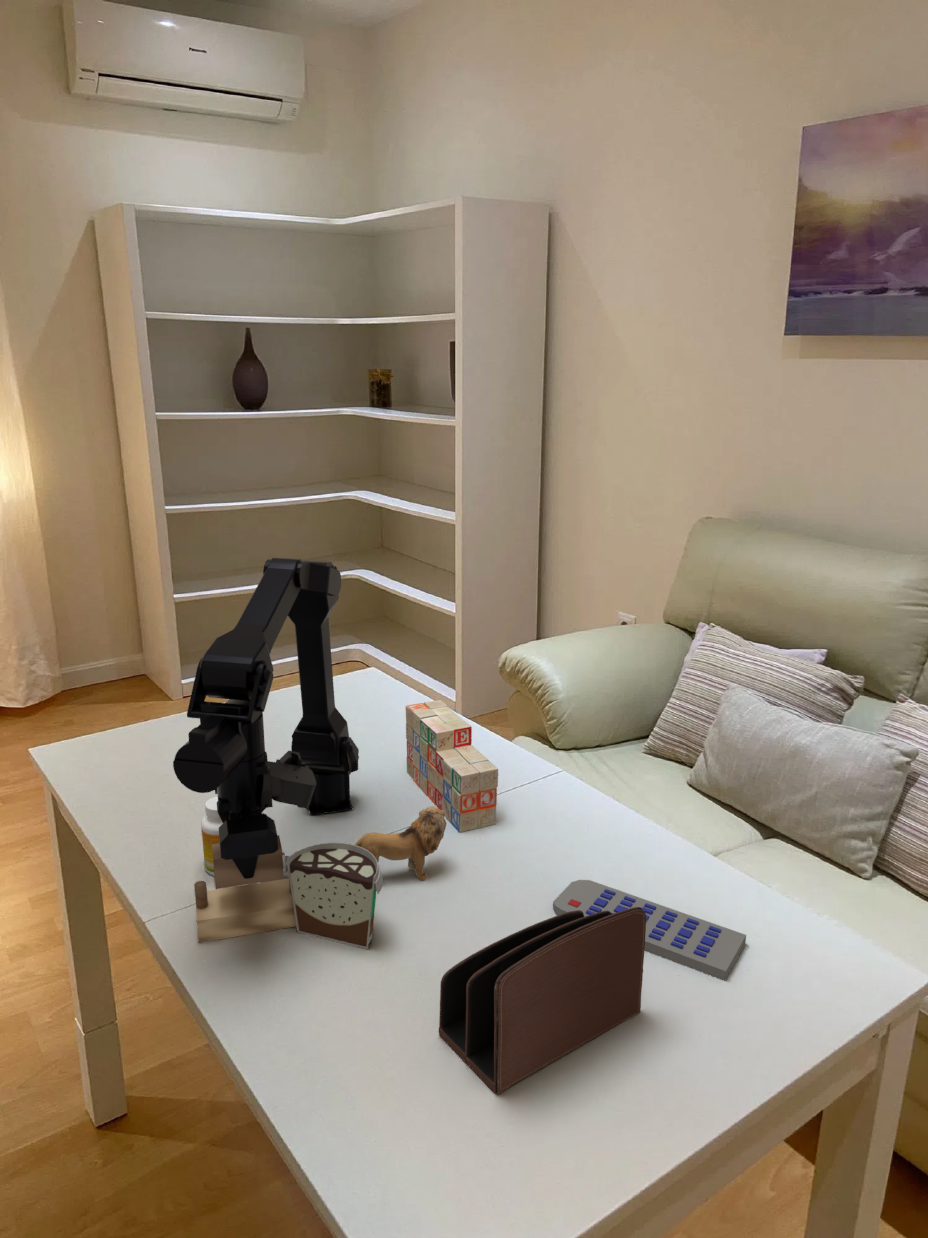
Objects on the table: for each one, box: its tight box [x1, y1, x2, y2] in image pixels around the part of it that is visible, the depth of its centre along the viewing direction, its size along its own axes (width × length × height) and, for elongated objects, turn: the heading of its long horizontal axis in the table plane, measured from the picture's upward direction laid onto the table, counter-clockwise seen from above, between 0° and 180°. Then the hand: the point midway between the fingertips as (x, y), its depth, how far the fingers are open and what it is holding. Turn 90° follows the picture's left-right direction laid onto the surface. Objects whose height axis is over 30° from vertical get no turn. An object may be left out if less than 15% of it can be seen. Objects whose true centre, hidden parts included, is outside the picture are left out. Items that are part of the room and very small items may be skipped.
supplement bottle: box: [201, 795, 223, 877], centre depth 123 cm, size 5×5×10 cm
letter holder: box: [438, 907, 646, 1095], centre depth 95 cm, size 10×20×14 cm, turn 126°
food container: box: [284, 842, 384, 950], centre depth 111 cm, size 12×6×10 cm, turn 71°
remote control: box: [552, 879, 747, 982], centre depth 112 cm, size 8×23×2 cm, turn 57°
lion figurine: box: [354, 806, 447, 881], centre depth 121 cm, size 15×5×9 cm, turn 113°
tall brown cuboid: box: [212, 834, 284, 890], centre depth 111 cm, size 4×8×4 cm, turn 107°
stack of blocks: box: [405, 699, 499, 833], centre depth 142 cm, size 21×6×12 cm, turn 25°
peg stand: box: [193, 878, 297, 944], centre depth 112 cm, size 13×6×6 cm, turn 107°
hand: (247, 869), depth 111 cm, fingers closed on tall brown cuboid, 3 cm apart
